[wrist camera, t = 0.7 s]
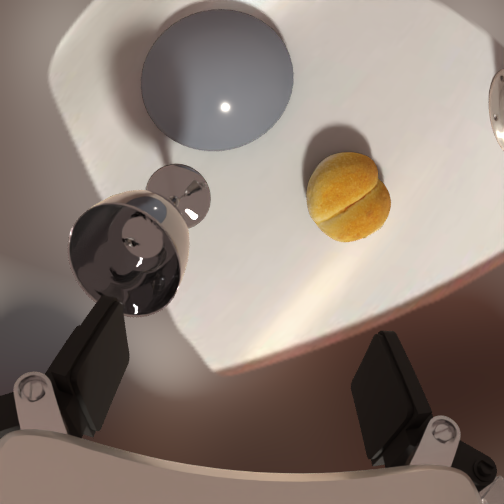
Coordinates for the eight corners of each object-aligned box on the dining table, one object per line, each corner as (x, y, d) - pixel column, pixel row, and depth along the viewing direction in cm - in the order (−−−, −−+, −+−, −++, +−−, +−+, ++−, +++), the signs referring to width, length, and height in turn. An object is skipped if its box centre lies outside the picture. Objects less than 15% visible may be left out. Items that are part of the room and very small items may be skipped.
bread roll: (357, 136, 28) (372, 141, 24) (392, 209, 31) (408, 222, 28) (287, 178, 30) (293, 188, 26) (329, 247, 33) (339, 265, 30)
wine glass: (190, 246, 34) (150, 335, 20) (130, 209, 32) (56, 277, 19) (229, 186, 31) (204, 250, 17) (163, 146, 29) (89, 178, 16)
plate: (264, -1, 22) (264, -8, 21) (309, 124, 28) (312, 125, 26) (131, 48, 25) (124, 45, 23) (175, 168, 30) (169, 171, 28)
